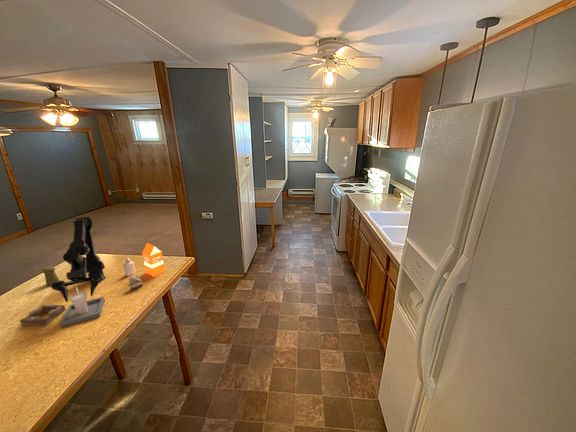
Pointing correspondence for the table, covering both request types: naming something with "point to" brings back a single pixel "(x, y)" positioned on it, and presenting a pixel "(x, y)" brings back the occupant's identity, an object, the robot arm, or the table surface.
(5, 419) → the table surface
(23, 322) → the clip collar
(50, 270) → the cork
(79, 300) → the smoothie
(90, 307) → the tray
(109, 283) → the table surface
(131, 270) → the eye dropper bottle
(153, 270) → the orange juice
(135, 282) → the architectural model
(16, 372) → the table surface
